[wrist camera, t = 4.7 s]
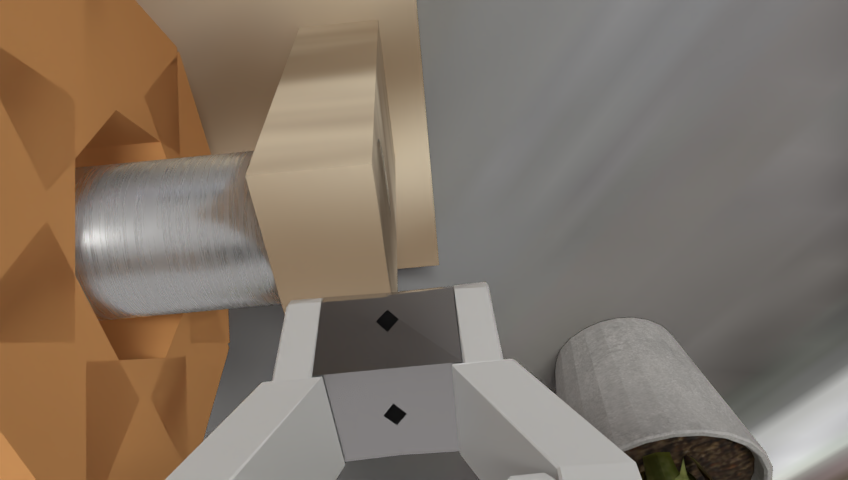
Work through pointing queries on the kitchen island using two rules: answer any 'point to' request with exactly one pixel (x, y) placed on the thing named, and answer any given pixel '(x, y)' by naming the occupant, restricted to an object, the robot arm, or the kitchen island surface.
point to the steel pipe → (170, 237)
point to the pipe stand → (317, 131)
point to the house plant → (655, 404)
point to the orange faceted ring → (55, 250)
